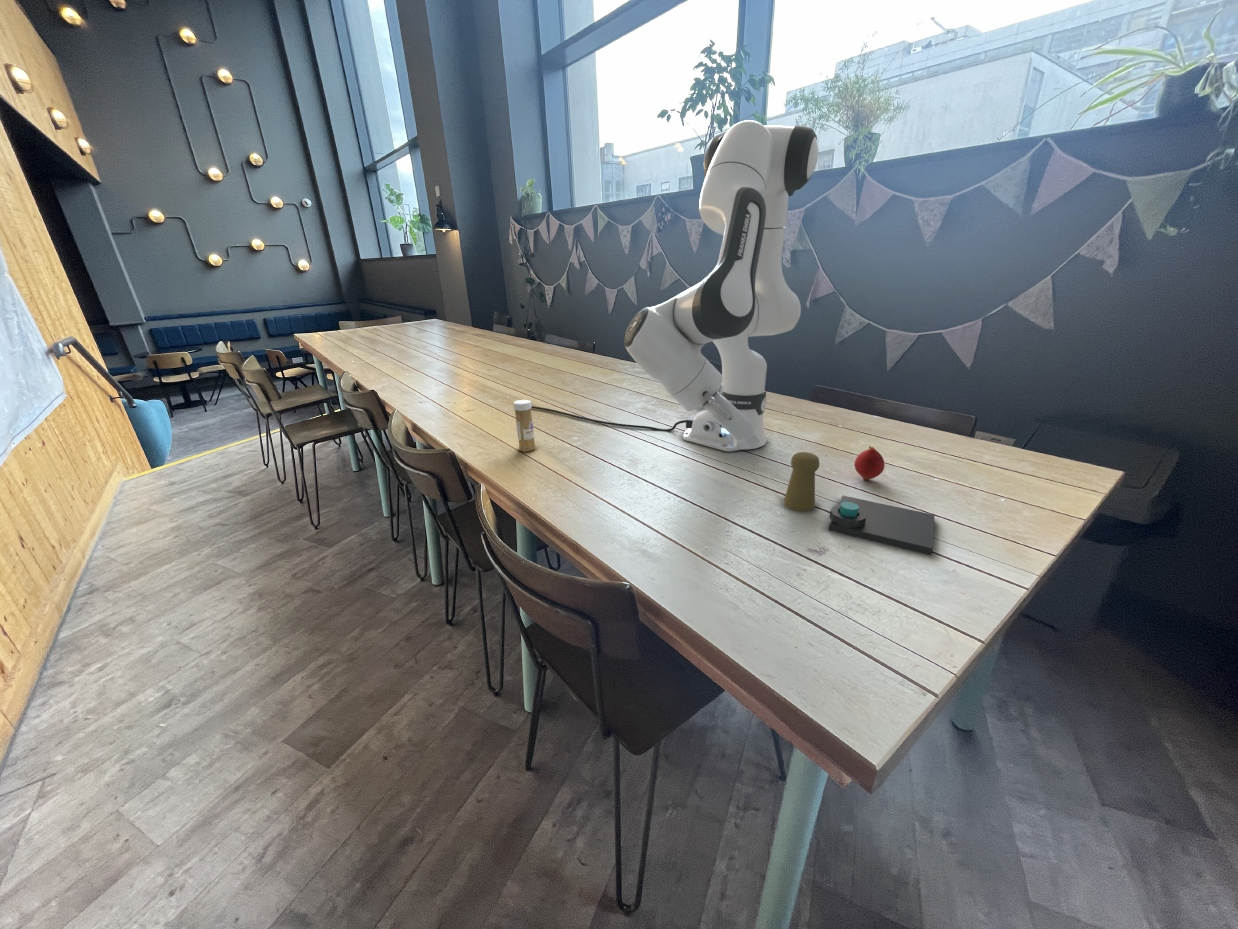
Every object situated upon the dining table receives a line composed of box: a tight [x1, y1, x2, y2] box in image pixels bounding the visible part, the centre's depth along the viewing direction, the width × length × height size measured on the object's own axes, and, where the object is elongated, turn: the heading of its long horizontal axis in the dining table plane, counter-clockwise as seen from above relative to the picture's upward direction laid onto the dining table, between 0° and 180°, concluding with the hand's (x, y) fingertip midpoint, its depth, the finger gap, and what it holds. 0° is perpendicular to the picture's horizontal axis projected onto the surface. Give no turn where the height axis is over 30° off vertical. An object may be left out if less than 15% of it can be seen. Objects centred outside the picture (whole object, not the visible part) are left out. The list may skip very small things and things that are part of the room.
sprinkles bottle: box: [513, 399, 536, 453], centre depth 126 cm, size 5×5×14 cm
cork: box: [783, 451, 820, 512], centre depth 93 cm, size 6×6×11 cm
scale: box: [828, 495, 936, 556], centre depth 87 cm, size 16×13×3 cm
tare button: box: [839, 502, 859, 517], centre depth 86 cm, size 3×3×2 cm
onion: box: [853, 445, 885, 481], centre depth 103 cm, size 6×6×8 cm
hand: (746, 434), depth 88 cm, fingers open, 8 cm apart
